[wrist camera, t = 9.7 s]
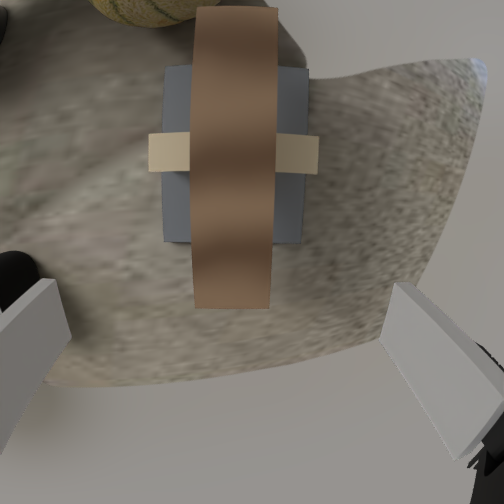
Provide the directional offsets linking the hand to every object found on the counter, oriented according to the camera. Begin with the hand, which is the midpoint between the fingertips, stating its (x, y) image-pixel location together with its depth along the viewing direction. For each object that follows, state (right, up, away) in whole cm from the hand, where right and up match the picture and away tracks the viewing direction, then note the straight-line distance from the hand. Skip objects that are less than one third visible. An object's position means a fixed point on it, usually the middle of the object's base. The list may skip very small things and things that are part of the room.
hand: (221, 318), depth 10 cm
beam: (0, +10, +11) cm, 14 cm away
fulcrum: (-1, +12, +17) cm, 21 cm away
